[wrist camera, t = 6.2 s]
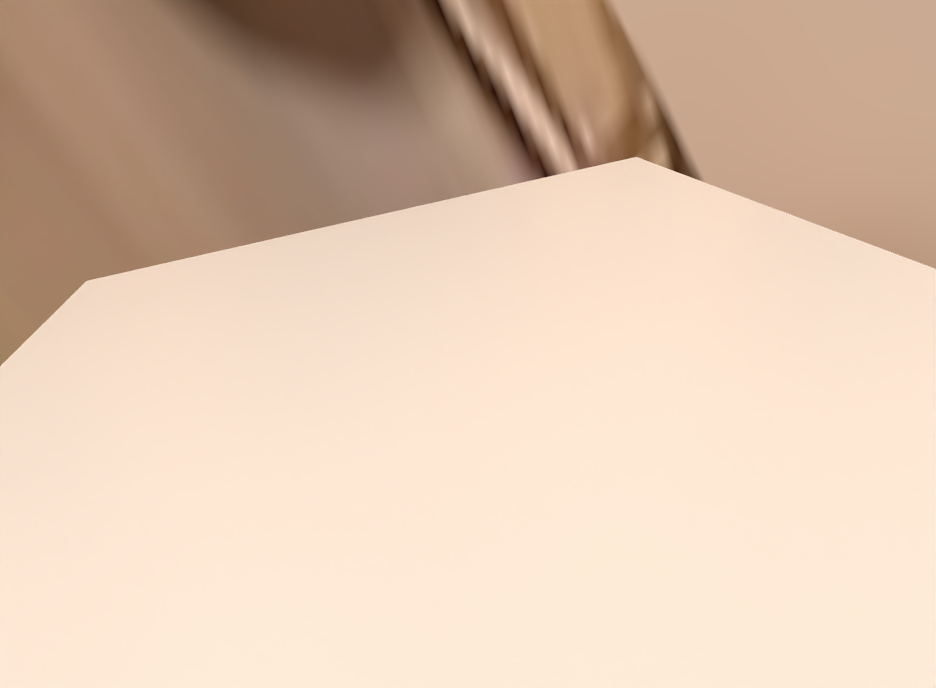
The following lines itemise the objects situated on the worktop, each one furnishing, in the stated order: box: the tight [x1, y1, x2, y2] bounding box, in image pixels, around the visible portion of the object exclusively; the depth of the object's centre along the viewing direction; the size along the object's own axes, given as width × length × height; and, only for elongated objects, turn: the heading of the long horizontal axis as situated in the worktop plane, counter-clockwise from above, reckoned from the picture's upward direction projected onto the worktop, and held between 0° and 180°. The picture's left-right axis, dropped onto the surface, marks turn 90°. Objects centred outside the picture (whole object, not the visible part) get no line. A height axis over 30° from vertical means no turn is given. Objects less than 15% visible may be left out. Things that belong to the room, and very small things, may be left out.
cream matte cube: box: [0, 157, 936, 688], centre depth 7 cm, size 8×8×9 cm
